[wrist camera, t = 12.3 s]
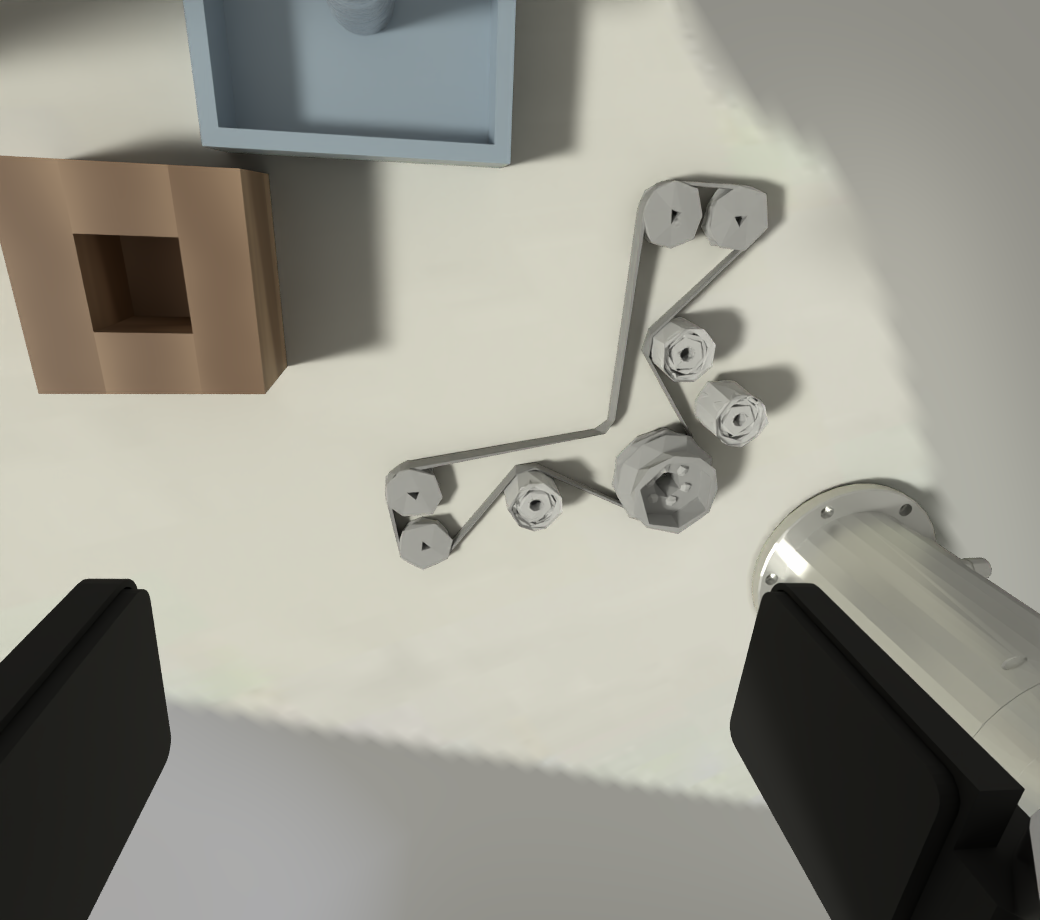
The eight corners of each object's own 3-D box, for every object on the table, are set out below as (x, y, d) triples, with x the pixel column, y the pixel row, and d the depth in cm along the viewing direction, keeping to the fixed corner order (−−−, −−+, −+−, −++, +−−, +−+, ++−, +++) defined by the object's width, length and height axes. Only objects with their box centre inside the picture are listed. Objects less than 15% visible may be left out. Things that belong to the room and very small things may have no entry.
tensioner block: (268, 173, 29) (239, 168, 24) (287, 366, 32) (265, 394, 27) (52, 162, 27) (-22, 154, 23) (95, 365, 31) (38, 393, 26)
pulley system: (847, 325, 37) (695, 126, 31) (904, 348, 33) (741, 121, 27) (531, 623, 43) (350, 506, 37) (544, 674, 39) (343, 552, 33)
